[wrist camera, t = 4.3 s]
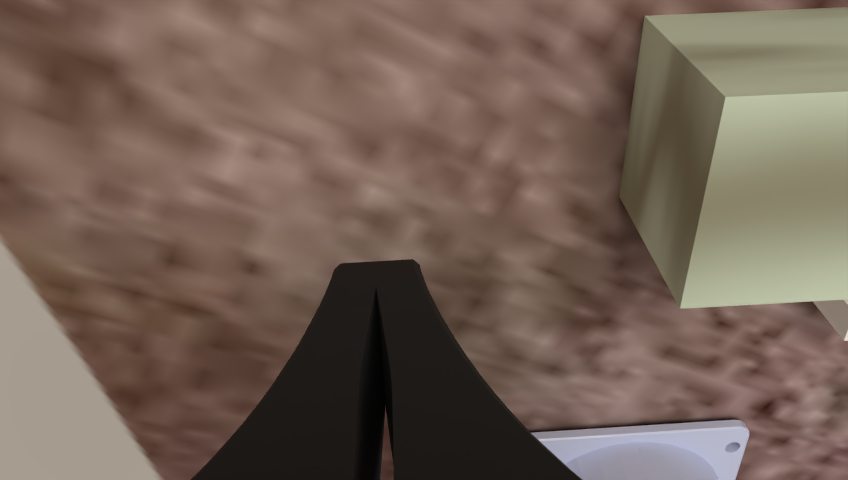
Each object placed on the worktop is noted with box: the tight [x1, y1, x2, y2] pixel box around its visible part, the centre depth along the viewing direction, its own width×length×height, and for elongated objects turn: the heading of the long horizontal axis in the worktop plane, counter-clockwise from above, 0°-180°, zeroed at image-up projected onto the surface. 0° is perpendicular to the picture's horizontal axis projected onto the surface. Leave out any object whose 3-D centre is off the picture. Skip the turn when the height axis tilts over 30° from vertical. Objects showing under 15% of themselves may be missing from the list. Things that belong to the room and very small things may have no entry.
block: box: [619, 7, 848, 309], centre depth 17 cm, size 5×5×5 cm
